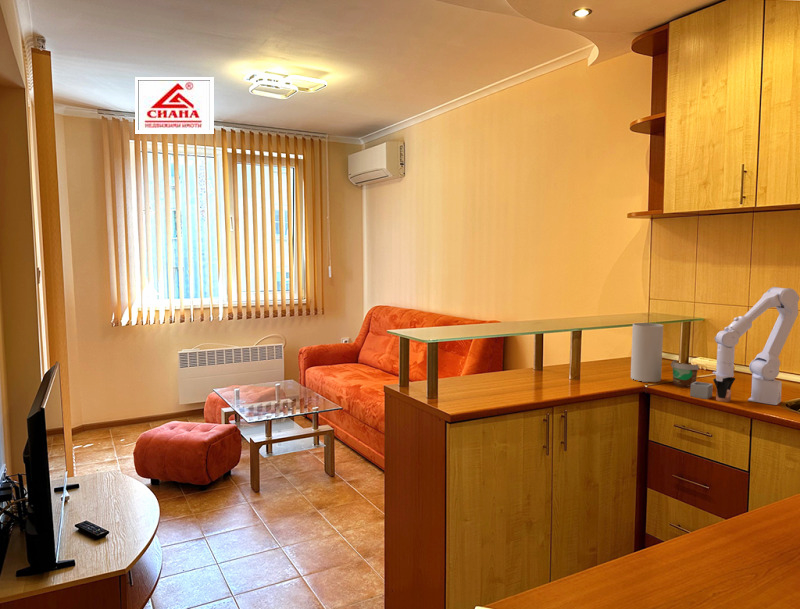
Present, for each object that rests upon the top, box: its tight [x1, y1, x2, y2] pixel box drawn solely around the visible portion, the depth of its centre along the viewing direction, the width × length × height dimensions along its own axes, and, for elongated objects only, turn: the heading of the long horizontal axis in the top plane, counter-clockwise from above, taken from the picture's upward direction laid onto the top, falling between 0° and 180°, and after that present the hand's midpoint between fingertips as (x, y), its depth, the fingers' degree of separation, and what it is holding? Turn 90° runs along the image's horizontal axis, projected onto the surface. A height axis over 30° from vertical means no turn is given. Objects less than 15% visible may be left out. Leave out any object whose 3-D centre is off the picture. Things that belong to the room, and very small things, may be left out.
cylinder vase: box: [630, 322, 664, 383], centre depth 248 cm, size 12×12×25 cm
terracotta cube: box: [715, 389, 732, 403], centre depth 214 cm, size 4×4×4 cm
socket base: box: [689, 381, 713, 400], centre depth 220 cm, size 6×6×5 cm
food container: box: [670, 359, 700, 389], centre depth 238 cm, size 12×6×10 cm, turn 21°
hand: (723, 396), depth 214 cm, fingers closed on terracotta cube, 4 cm apart
